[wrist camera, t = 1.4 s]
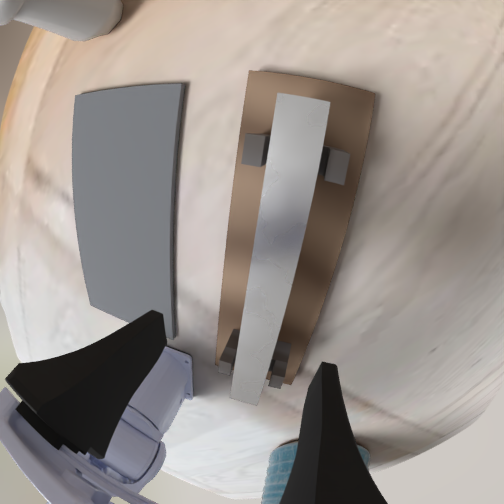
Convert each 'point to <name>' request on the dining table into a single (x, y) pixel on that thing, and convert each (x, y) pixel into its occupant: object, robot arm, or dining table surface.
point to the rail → (278, 235)
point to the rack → (319, 221)
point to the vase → (287, 471)
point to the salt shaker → (65, 16)
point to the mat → (127, 197)
